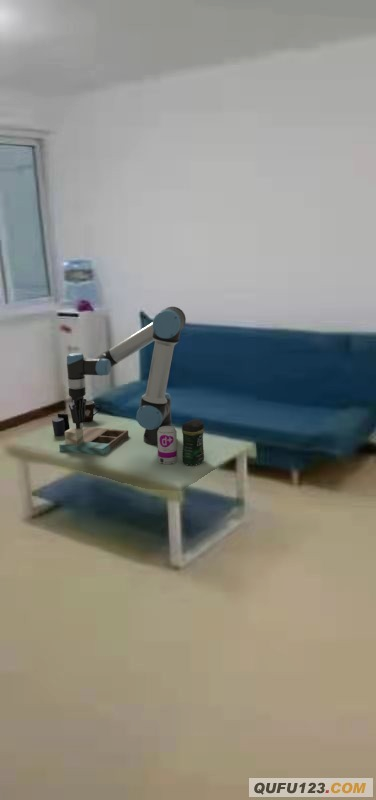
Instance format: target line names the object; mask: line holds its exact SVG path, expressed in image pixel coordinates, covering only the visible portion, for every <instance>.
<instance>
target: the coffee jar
mask: <svg viewBox="0 0 376 800" xmlns="http://www.w3.org/2000/svg"><path fill="white" fill-rule="evenodd" d="M181 426H182V427H181V432H182V458H181V459H182V464H185V465H186V464H188V465H187V466H197V465H199V463H200V464H201V463H203V462H204V461H205V455H204V454H205V453H204V452H205V451H204V431H205V424H204V422H203V420H201V419H197V418H193V419H192V420H188V421H186V422H185V423H183V424H181ZM196 464H197V465H196Z"/></svg>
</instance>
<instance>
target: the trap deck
mask: <svg viewBox="0 0 376 800" xmlns="http://www.w3.org/2000/svg"><path fill="white" fill-rule="evenodd" d="M128 437H129V430H128V429H125V430H124V429H117V428H116V429H114V428H103V427H91V426H86V427H85V428H83V442H82V443H80V444H79V445H67V444H65V440H63V442H61V443H59V445H58V446H59V452H66V453H67V452H68V453H78V454H79V453H80V454H86V455H96V456H97V455H99V456H105V455H106V454H107V453H108V452H110V451H111V450H113V449H114V448H115V447H116V446H118V445H119V444H121V443H122V442H123V441H124V440H126V439H127V438H128Z"/></svg>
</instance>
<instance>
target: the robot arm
mask: <svg viewBox="0 0 376 800" xmlns="http://www.w3.org/2000/svg"><path fill="white" fill-rule="evenodd" d="M152 319H153V320H152V322H151V323H149V324H147V325H146V326H145V327H143V328H141V329H140V330H138V331H136V332H135V333H133V334H132V335H130V336H128V337H126V338H125V339H123V340H122V341H121V342H119V343H117V344H116V345H114V346H112V347H111V348H110V349H108V350H106V351H104V352H102V353H101V354H99V355H98V356H96V357H95V358H92V357H91V358H89V357H88V358H87V357H84V354H83V353H82V352H72V353H69V354H67V356H66V368H67V370H66V371H67V382H68V383H67V385H68V396H69V397H71V400H70V401H71V404H69V405H68V408H69V411H70V414H71V421H72V423H73V424H75V428H77V429H84V427H83V425H84V424H83V422H85V421H83V420H85V407H86V401H87V398H85V397H84V396H86V395H87V394H86V387H85V386H86V381H85V379H86V378H85V376H101V377H103V376H109V375H110V373H111V370H112V368H113V367H114V366H115V365H117V364H118V363H120V362H122V361H124V360H125V359H127V358H129V357H130V356H132V355H133V354H135V353H137V352H139V351H140V350H142V349H143V348H145V347H146V346H147V347H148V345H150V344H151V343H153V342H154V346H153V350H152V357H151V361H150V369H149V373H148V374H149V375H148V379H147V385H146V390H145V393H144V394H142V395H141V398H140V404H139V408H138V409H137V411H136V415H135V416H136V417H135V418H136V422H137V423H138V425H139V426H140V427H141V428H143V429H145V430H144V433H143V442H145V443H146V444H150V445H158V437H157V431H158V429H159V428H160V427H162V426H173V425H172V405H171V404H172V399H171V394H170V393H169V392H167V386H168V381H169V375H170V370H171V363H172V360H173V354H174V348H175V346H176V345H177V344H178V343H179V342H180V335H181V331H182V329H184V327H185V325H186V321H187V320H186V314H185V313H184V311H183V310H182V309H181V308H179V307H176V306H169V307H168V306H167V307H165V308H164V309H161V310H159V311H158V312H157V313H156V315H154V317H153V318H152Z"/></svg>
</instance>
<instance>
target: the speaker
mask: <svg viewBox="0 0 376 800" xmlns="http://www.w3.org/2000/svg"><path fill="white" fill-rule="evenodd" d="M69 419H70V418H69V414H68V413H59V412H58V413H57V416H55V417H53V418H51V421H52V422H51V423H52V428H53V429H52V430H53V434H54V436H56V437H62V436H65V431H67V430H68V429H70V428H71V427H70V422H69V421H70V420H69Z"/></svg>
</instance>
